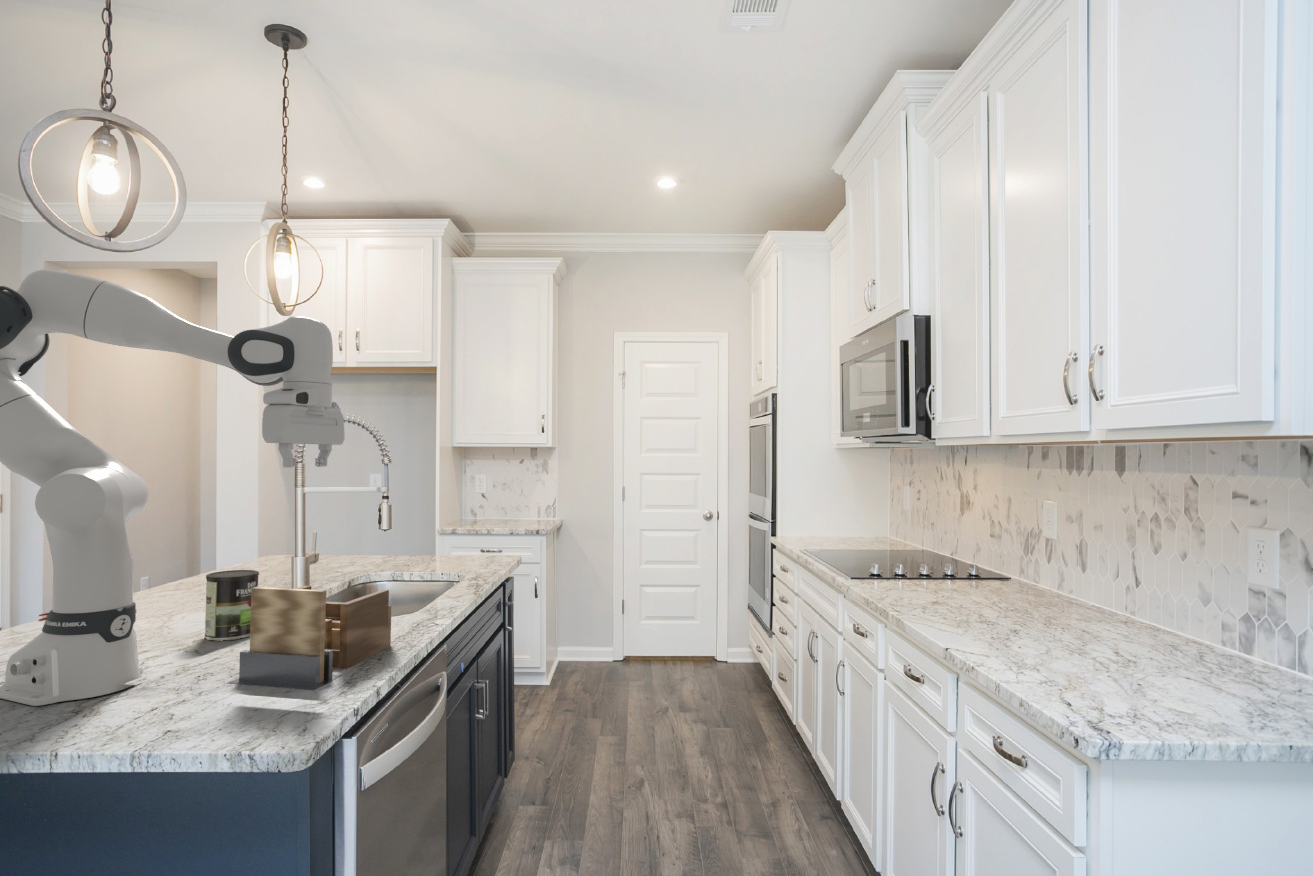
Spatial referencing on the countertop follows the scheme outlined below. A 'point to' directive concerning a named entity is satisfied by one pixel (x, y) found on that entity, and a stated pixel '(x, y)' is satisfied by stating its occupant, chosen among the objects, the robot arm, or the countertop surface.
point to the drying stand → (284, 670)
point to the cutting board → (288, 622)
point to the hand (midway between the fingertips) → (305, 467)
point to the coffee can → (229, 604)
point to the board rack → (360, 627)
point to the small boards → (332, 634)
